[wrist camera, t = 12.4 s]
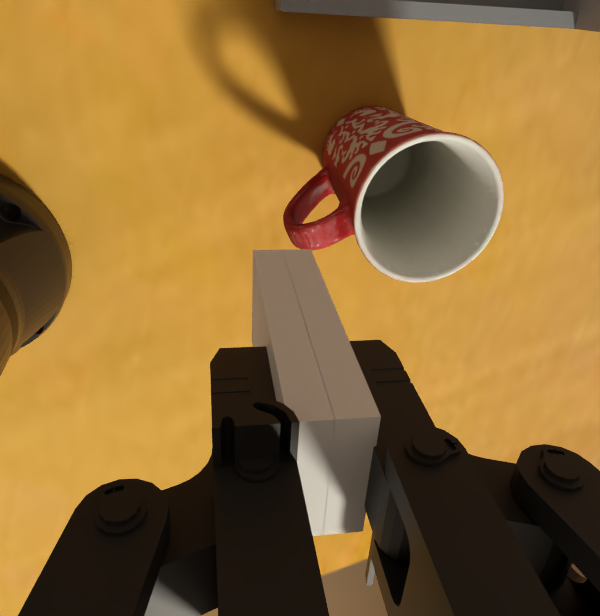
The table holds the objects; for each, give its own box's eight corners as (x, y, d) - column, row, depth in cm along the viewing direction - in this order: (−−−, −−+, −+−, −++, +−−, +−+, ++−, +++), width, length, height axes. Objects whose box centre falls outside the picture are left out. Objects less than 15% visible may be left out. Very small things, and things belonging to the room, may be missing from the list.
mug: (416, 76, 41) (501, 112, 30) (431, 190, 46) (508, 260, 34) (252, 124, 41) (273, 179, 30) (283, 233, 46) (312, 318, 34)
